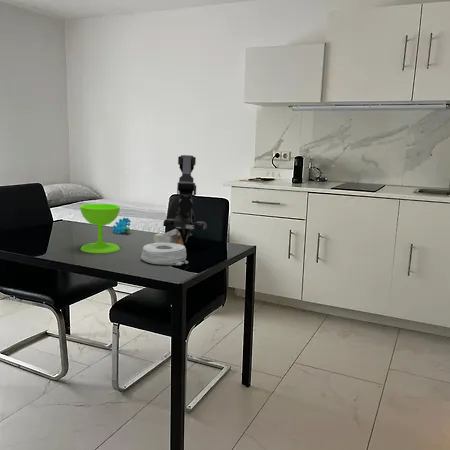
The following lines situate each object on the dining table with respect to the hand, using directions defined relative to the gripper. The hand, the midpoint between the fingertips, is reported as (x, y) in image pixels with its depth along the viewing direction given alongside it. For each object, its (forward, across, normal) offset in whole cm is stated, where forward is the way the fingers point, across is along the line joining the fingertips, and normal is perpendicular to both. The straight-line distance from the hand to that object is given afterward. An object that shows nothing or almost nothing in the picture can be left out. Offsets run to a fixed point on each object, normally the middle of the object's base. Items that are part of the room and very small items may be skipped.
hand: (184, 243), depth 202 cm
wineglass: (+2, -30, -21) cm, 36 cm away
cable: (+2, +2, -26) cm, 26 cm away
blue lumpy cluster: (+2, -38, +13) cm, 40 cm away
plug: (+2, -8, 0) cm, 8 cm away
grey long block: (+2, -5, 0) cm, 6 cm away
